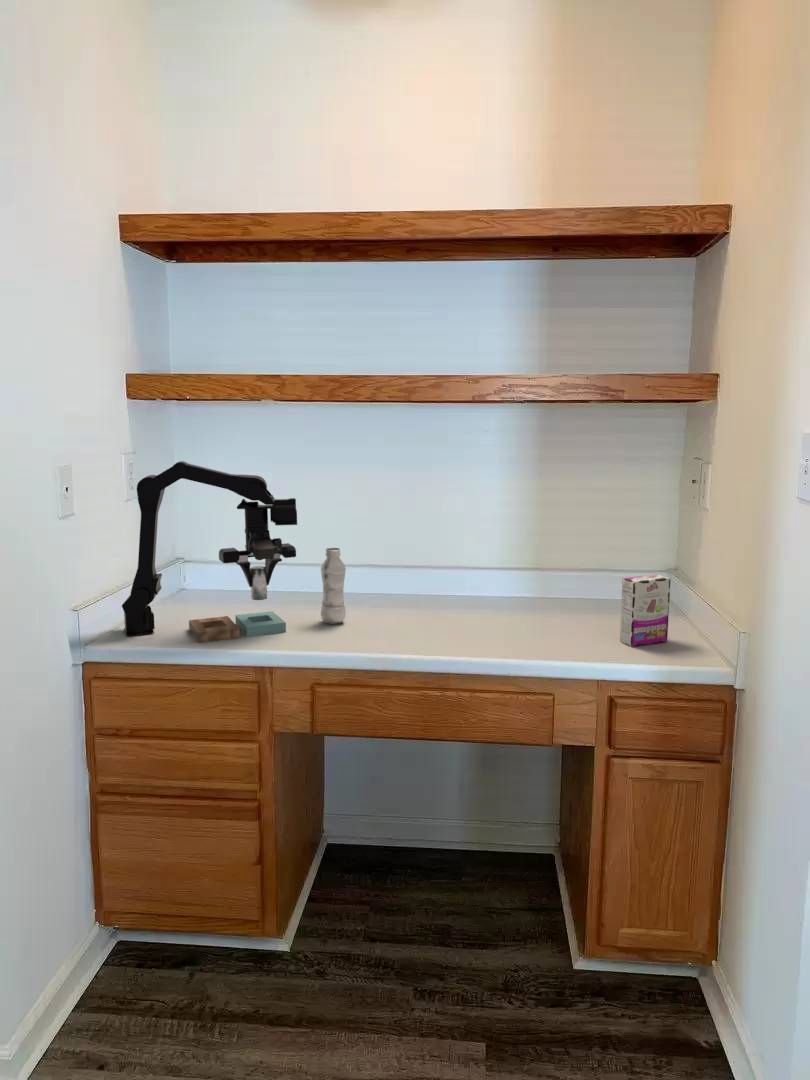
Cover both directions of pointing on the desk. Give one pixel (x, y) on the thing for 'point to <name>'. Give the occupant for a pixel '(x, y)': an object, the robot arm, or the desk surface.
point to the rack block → (260, 623)
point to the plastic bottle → (333, 587)
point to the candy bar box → (645, 610)
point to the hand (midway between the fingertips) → (258, 586)
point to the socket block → (213, 629)
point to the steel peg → (258, 583)
